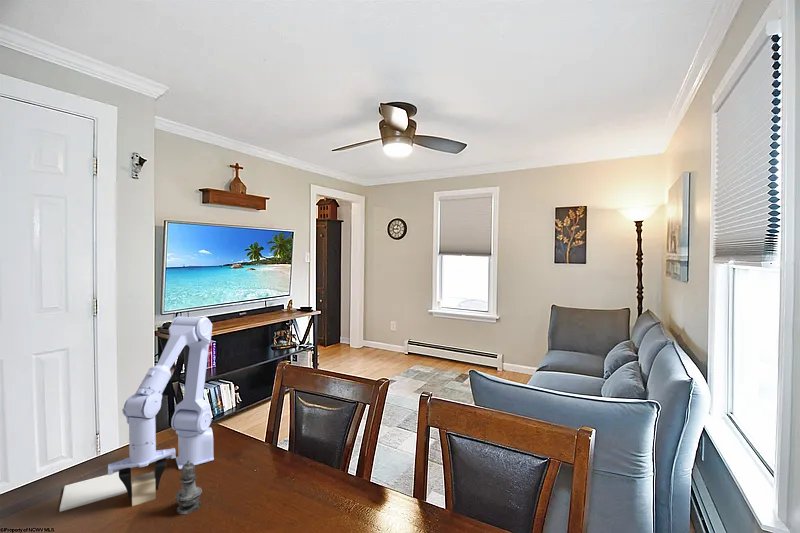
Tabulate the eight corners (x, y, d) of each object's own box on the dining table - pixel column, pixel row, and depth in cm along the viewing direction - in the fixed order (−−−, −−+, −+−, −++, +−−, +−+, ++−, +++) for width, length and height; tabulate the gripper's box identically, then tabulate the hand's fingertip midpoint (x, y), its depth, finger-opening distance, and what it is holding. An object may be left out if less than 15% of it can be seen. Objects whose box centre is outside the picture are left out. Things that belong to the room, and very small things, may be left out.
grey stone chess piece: (190, 516, 95) (190, 467, 94) (169, 513, 96) (169, 464, 95) (207, 501, 100) (206, 455, 100) (187, 498, 102) (186, 452, 101)
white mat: (128, 471, 114) (128, 469, 114) (129, 491, 104) (129, 489, 104) (64, 487, 106) (64, 485, 106) (59, 511, 96) (59, 509, 96)
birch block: (154, 489, 105) (153, 471, 105) (155, 499, 101) (155, 480, 101) (131, 496, 102) (131, 477, 102) (132, 506, 98) (131, 486, 98)
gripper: (107, 455, 94) (108, 511, 94) (176, 439, 102) (177, 490, 103) (107, 443, 100) (108, 496, 100) (173, 429, 108) (174, 477, 108)
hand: (143, 492), depth 102 cm, fingers closed on birch block, 5 cm apart
